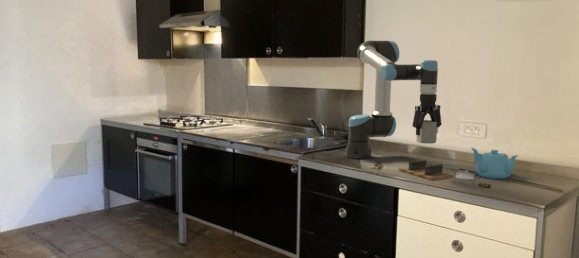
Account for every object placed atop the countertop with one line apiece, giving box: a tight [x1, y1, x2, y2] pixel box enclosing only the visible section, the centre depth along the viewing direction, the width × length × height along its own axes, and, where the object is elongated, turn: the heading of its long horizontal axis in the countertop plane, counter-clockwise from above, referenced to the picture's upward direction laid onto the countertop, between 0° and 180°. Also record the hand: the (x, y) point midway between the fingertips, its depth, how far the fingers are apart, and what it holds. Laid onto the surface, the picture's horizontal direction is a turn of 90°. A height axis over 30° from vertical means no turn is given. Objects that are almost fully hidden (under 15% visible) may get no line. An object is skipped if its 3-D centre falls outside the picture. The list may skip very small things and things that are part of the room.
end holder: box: [398, 159, 454, 181], centre depth 233 cm, size 22×14×5 cm, turn 27°
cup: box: [418, 119, 437, 145], centre depth 231 cm, size 8×8×10 cm
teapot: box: [470, 147, 519, 180], centre depth 230 cm, size 17×19×12 cm
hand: (426, 141), depth 232 cm, fingers closed on cup, 8 cm apart
